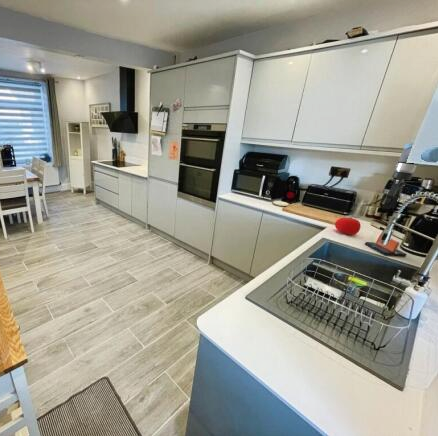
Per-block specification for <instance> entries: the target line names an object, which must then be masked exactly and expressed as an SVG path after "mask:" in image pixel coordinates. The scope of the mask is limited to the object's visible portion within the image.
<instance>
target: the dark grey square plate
mask: <svg viewBox="0 0 438 436" xmlns="http://www.w3.org/2000/svg"><path fill="white" fill-rule="evenodd" d="M364 245H365V246H366V247H368V248H370V249H372V250H373V251H375V252H377V253H379V254H380V255H383V256H385V257H398V258H400V257H401V258H406V257H407V255H408V254H407V253H406V252H403V251H402V250H401V249H400V250H399V248H397V250H396V252H392V251H390V250H388V249H386V248H384V247H382V246H380V245H379V244H377V241H374V242H373V241H365V243H364Z"/></svg>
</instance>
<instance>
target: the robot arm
mask: <svg viewBox="0 0 438 436" xmlns="http://www.w3.org/2000/svg"><path fill="white" fill-rule="evenodd" d="M413 143H414V142H407V143H406V144H405V146H404V147H403V149H402V151H401V154H400V156H399V159H398V162H397V164H395V165H394V166H395V168H394V172H393V173H392V175H391V178H392V179H394V180H393V183H392V184H391V187H390V189H389V190H388V192H387V194H386V195H385V196H384V197H385V201H384V202H383V205H382V209H384V210H388V211H389V210H390V209H395V207H396V205H397V202H398V200H399V199H401V197H402V196H401V194H402V191H403V188H404V185H405V184H406V181H410V180H411V179H412V177H413V174H414V172H415V170H416V168H417V166H418V163H417V164H414V163H406V162H407V159H408V156H409V153H410V151H411V148H412V145H413ZM421 159H422V160H424V161H426V162H425V163H436V162H437V161H438V147H432V148H429V149H427V150H425V152H423V154H421ZM405 180H406V181H405Z"/></svg>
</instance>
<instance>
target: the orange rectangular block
mask: <svg viewBox="0 0 438 436" xmlns="http://www.w3.org/2000/svg"><path fill="white" fill-rule="evenodd" d="M382 235H383V234H382V233H381V234H379V236H378V239H377V240H376V243H377V244H379V245H380V246H382V247H384V248H386V249H388V250H390V251H392V252H396V250H397V248H398V247H399V246H400V241H397V240H395V239H393V238H390V237H389V238H390V239H389V241H388V243H387V244H386V245H383V244H382V243H381V236H382Z"/></svg>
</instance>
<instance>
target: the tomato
mask: <svg viewBox="0 0 438 436" xmlns="http://www.w3.org/2000/svg"><path fill="white" fill-rule="evenodd" d="M334 227H335V229H336V230H337V231H338V232H340V233H341V234H344V235H349V236H354V235H357V234H358V233H359V232H360V230H361V222H360V221H359V220H358V219H356V218H353V217H351V216H347V217H340V218H338V219H336V220H335V222H334Z"/></svg>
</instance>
